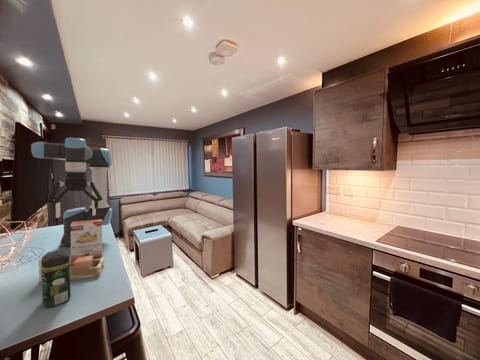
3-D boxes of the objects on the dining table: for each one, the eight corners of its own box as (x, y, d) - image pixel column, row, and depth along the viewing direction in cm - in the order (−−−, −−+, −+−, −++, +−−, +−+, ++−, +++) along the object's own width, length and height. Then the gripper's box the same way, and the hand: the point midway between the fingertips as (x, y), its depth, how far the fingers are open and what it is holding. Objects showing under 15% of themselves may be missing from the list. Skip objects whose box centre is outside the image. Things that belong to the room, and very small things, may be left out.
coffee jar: (41, 299, 76) (39, 252, 75) (68, 290, 82) (67, 246, 81) (43, 311, 70) (42, 260, 69) (72, 301, 76) (71, 253, 75)
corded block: (44, 276, 92) (44, 255, 91) (93, 269, 100) (93, 249, 99) (38, 283, 86) (37, 261, 86) (90, 274, 94) (90, 254, 94)
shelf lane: (66, 271, 97) (66, 263, 97) (104, 265, 103) (103, 258, 103) (58, 282, 87) (58, 273, 87) (99, 275, 94) (99, 267, 94)
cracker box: (70, 262, 106) (69, 224, 105) (72, 258, 111) (71, 221, 110) (102, 256, 114) (102, 220, 113) (102, 253, 119) (102, 218, 118)
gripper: (36, 171, 84) (37, 220, 85) (106, 172, 95) (106, 215, 96) (44, 170, 91) (45, 216, 92) (108, 171, 102) (109, 212, 103)
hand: (76, 216), depth 94 cm, fingers open, 13 cm apart
